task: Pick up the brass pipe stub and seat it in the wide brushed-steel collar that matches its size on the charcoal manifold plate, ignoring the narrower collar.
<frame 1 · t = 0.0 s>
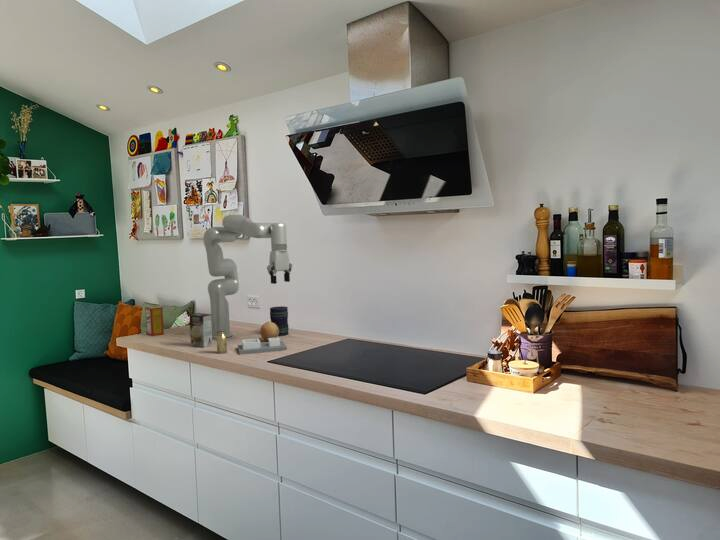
hand: (280, 282, 250), 31 cm above the worktop, tool pointing down, fingers open, 9 cm apart
onion: (270, 341, 263), on the worktop
manifold plate: (261, 349, 244), on the worktop
baking soda box: (155, 334, 290), on the worktop
brass stub: (222, 352, 239), on the worktop
coffee box: (201, 346, 255), on the worktop
storage jar: (279, 335, 278), on the worktop
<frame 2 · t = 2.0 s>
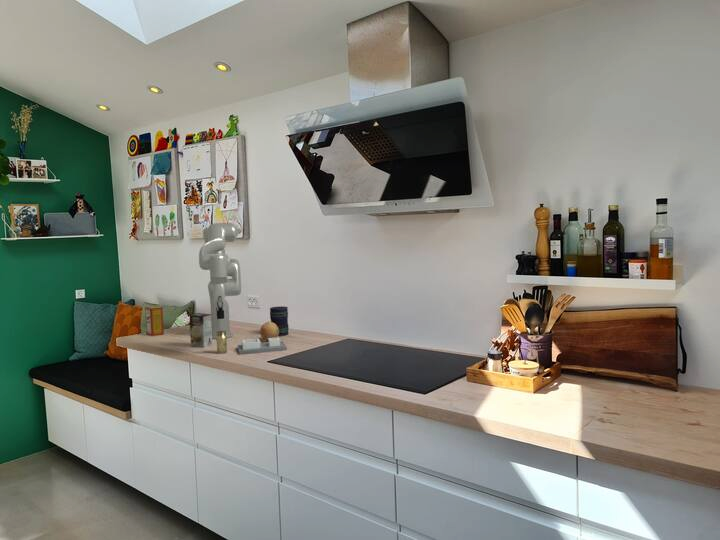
hand: (220, 317, 237), 17 cm above the worktop, tool pointing down, fingers open, 9 cm apart
nothing on the worktop moved.
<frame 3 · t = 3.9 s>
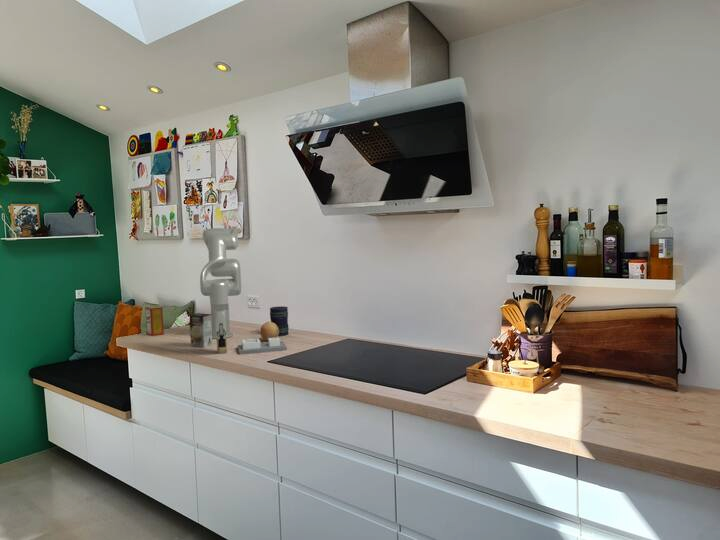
hand: (221, 345, 239), 3 cm above the worktop, tool pointing down, fingers closed on brass stub, 4 cm apart
brass stub: (222, 352, 239), on the worktop, touching gripper
everything else where it was.
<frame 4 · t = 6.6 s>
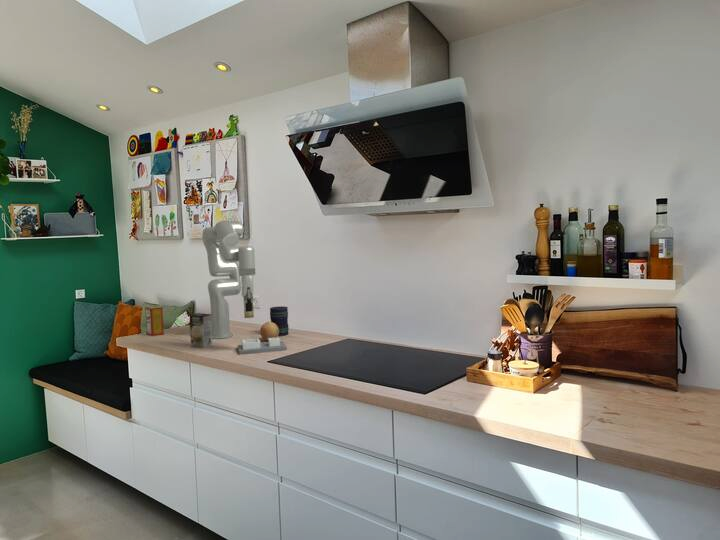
hand: (248, 310, 241), 19 cm above the worktop, tool pointing down, fingers closed on brass stub, 4 cm apart
brass stub: (249, 317, 241), point 16 cm above the worktop, touching gripper
everything else where it was.
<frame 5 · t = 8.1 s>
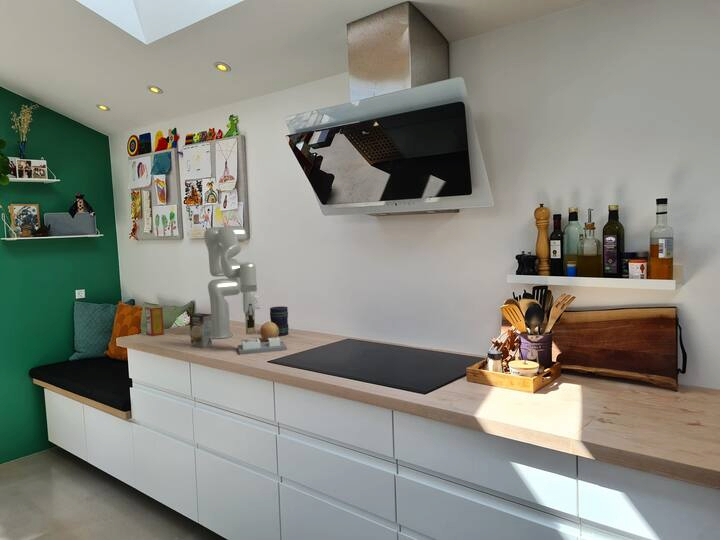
hand: (250, 326, 242), 11 cm above the worktop, tool pointing down, fingers closed on brass stub, 4 cm apart
brass stub: (250, 333, 242), point 8 cm above the worktop, touching gripper
everything else where it was.
when the fingers open (7 cm above the worktop, at t = 9.3 s): brass stub drops 2 cm, resting on manifold plate.
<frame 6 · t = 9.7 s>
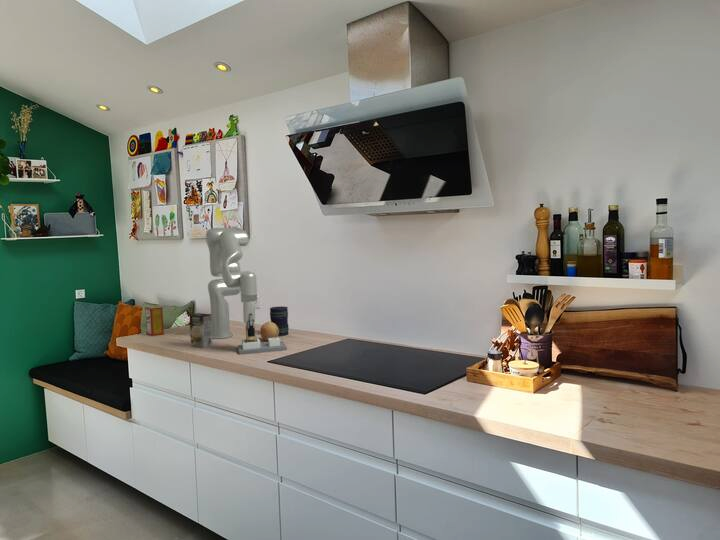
hand: (250, 334, 242), 8 cm above the worktop, tool pointing down, fingers open, 8 cm apart
brass stub: (251, 346, 243), point 2 cm above the worktop, touching manifold plate
everything else where it was.
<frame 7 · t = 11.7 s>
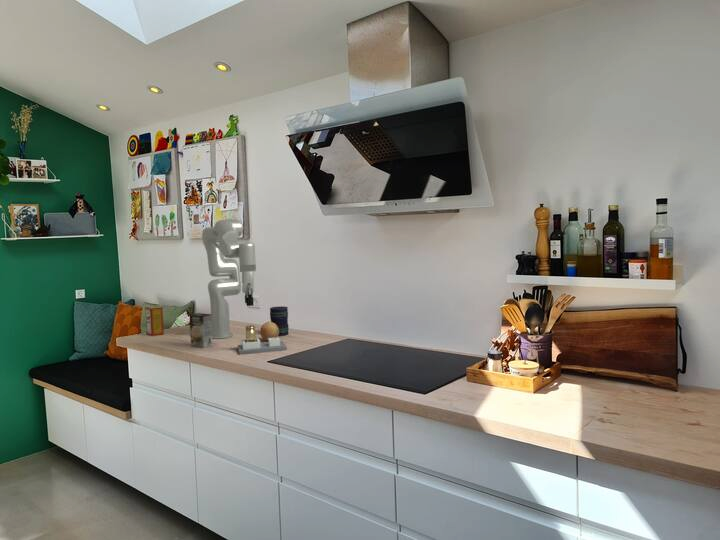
hand: (249, 304, 241), 22 cm above the worktop, tool pointing down, fingers open, 9 cm apart
nothing on the worktop moved.
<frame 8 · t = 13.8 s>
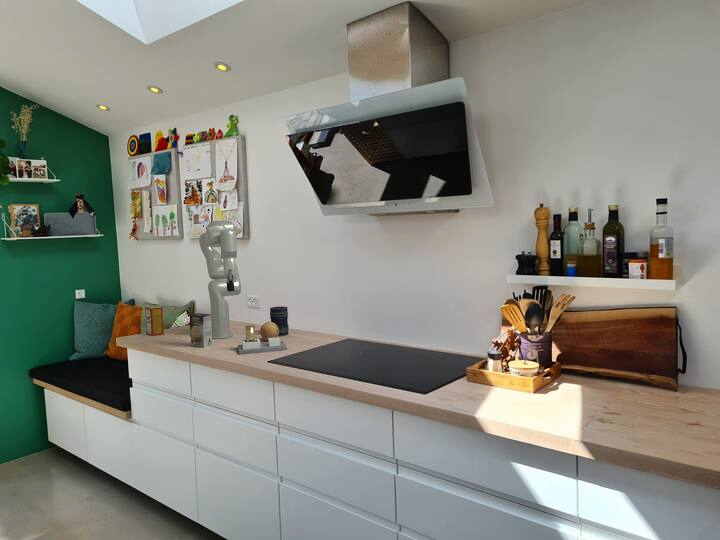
hand: (230, 290, 248), 28 cm above the worktop, tool pointing down, fingers open, 9 cm apart
nothing on the worktop moved.
at the end: brass stub 0.2 cm from the target spot on the manifold plate, point 1.5 cm above the manifold plate's base; brass stub tilted 1°; the gripper is holding nothing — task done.
